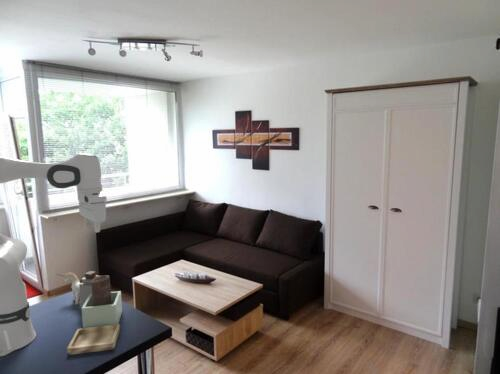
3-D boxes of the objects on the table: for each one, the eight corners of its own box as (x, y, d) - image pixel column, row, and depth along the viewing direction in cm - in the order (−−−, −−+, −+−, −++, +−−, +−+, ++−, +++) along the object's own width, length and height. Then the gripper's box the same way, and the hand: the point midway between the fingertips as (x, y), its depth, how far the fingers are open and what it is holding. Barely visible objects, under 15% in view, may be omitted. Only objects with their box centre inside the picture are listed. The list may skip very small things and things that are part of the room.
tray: (67, 355, 122) (67, 348, 122) (78, 334, 135) (77, 328, 134) (114, 349, 125) (113, 343, 125) (120, 329, 138) (119, 324, 137)
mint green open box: (83, 331, 137) (81, 308, 135) (91, 314, 149) (89, 293, 148) (117, 327, 139) (115, 305, 138) (122, 311, 152) (120, 291, 151)
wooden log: (106, 326, 140) (102, 281, 137) (90, 325, 141) (86, 280, 138) (116, 317, 147) (113, 274, 144) (101, 315, 149) (98, 272, 146)
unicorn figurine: (72, 293, 170) (69, 268, 168) (97, 302, 160) (94, 276, 158) (58, 299, 164) (55, 273, 162) (83, 309, 154) (80, 282, 152)
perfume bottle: (93, 314, 150) (90, 276, 147) (81, 312, 152) (78, 274, 149) (104, 307, 156) (101, 270, 153) (92, 305, 158) (89, 268, 155)
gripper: (73, 192, 136) (76, 226, 138) (90, 199, 121) (93, 236, 123) (89, 191, 140) (92, 223, 142) (108, 197, 125) (110, 233, 127)
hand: (92, 229), depth 132 cm, fingers open, 8 cm apart
